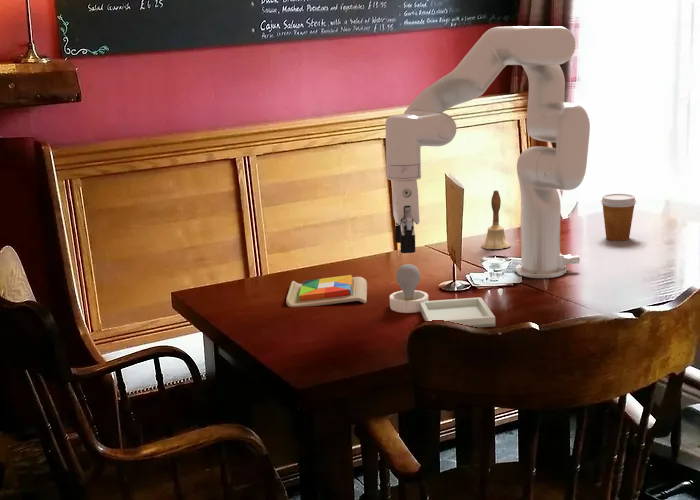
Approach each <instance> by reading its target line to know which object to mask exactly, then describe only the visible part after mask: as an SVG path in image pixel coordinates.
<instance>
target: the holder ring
mask: <svg viewBox="0 0 700 500" xmlns="http://www.w3.org/2000/svg"><path fill="white" fill-rule="evenodd" d="M425 301H430V300H429V294H428V293H427V292H425V291H422V290H416V289H415V290H414V300H410V301H405V300H404V292H403V290H400V291H399V290H398V291H395V292H393V293H391V294H390V295H389V307H390V310H391V311H394V312H396V313H403V314H404V313H405V314H409V313H411V314H412V313H420V312H421V311H420V303H421V302H425Z"/></svg>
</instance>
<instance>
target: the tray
mask: <svg viewBox="0 0 700 500" xmlns="http://www.w3.org/2000/svg"><path fill="white" fill-rule="evenodd" d="M419 312H420V313H421V315H422V318H423V320H424V322H425V321H432V320H444V321H450V322H454V323H459V324H463V325H468V326H473V327H477V328H487V327H496V316H495V315H494V313H493V312H492V311H491V308H489V306H488V304H487V303H486V302H485V300H484V299H483V298H482V297H479V296H478V297H467V298H464V297H463V298H452V299H451V298H450V299H438V300H429V301H425V302H421V303H420V311H419Z"/></svg>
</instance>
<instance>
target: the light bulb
mask: <svg viewBox="0 0 700 500" xmlns="http://www.w3.org/2000/svg"><path fill="white" fill-rule="evenodd" d="M395 279H396V283H397V284H398V286H399V287H400V289H401V291H403V292H404V300H405V301H410V300H414V290H416V289H417V287H418V285H419V283H420V280H421V273H420V270H419V268H417V266H416V265H413V264H410V263H406V264H403V265H401V266H400V267H399V268H398V269H397V271H396V274H395Z"/></svg>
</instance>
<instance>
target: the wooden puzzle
mask: <svg viewBox="0 0 700 500" xmlns="http://www.w3.org/2000/svg"><path fill="white" fill-rule="evenodd" d="M367 297H368V283H367V280H366V279H365V278H364V277H362V276H352V274H348V275H340V276H333V277H323V278H314V279H306V280H303V281H302V283H299V282H296V281H295V280H292V281H291V283H290V286H289V289H288V292H287V295H286V301H285V302H286V305H287V306H288V307H290V308H299V307H301V308H302V307H317V306H328V305H335V304H342V303H351V302H360V303H362V304H366V303H367V302H368V301H367Z"/></svg>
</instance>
